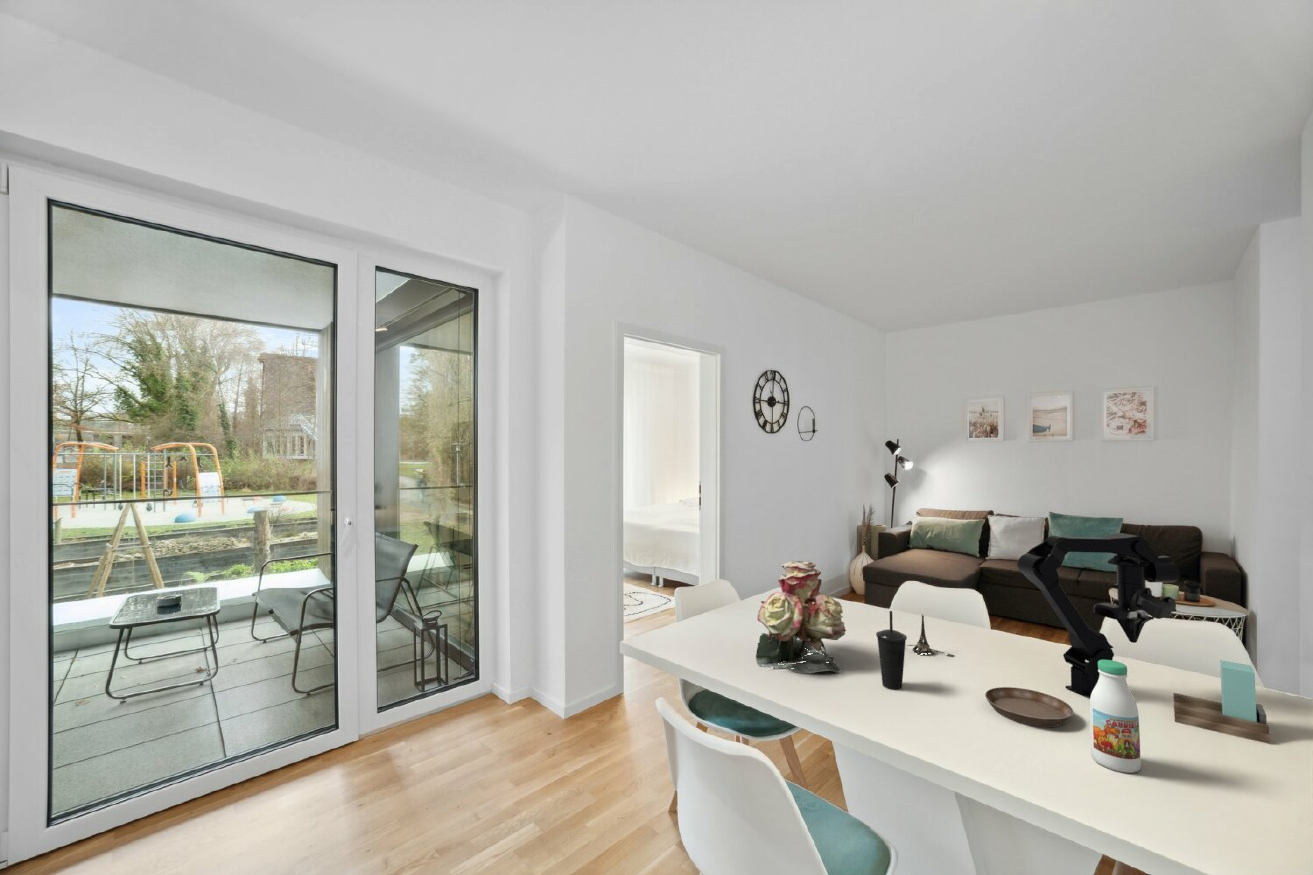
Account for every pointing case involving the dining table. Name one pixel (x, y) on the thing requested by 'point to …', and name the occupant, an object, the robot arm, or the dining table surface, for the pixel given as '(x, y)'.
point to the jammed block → (1238, 690)
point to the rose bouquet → (799, 622)
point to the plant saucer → (1029, 706)
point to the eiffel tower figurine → (925, 644)
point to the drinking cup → (891, 656)
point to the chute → (1219, 718)
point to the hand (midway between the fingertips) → (1133, 642)
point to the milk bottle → (1114, 720)
